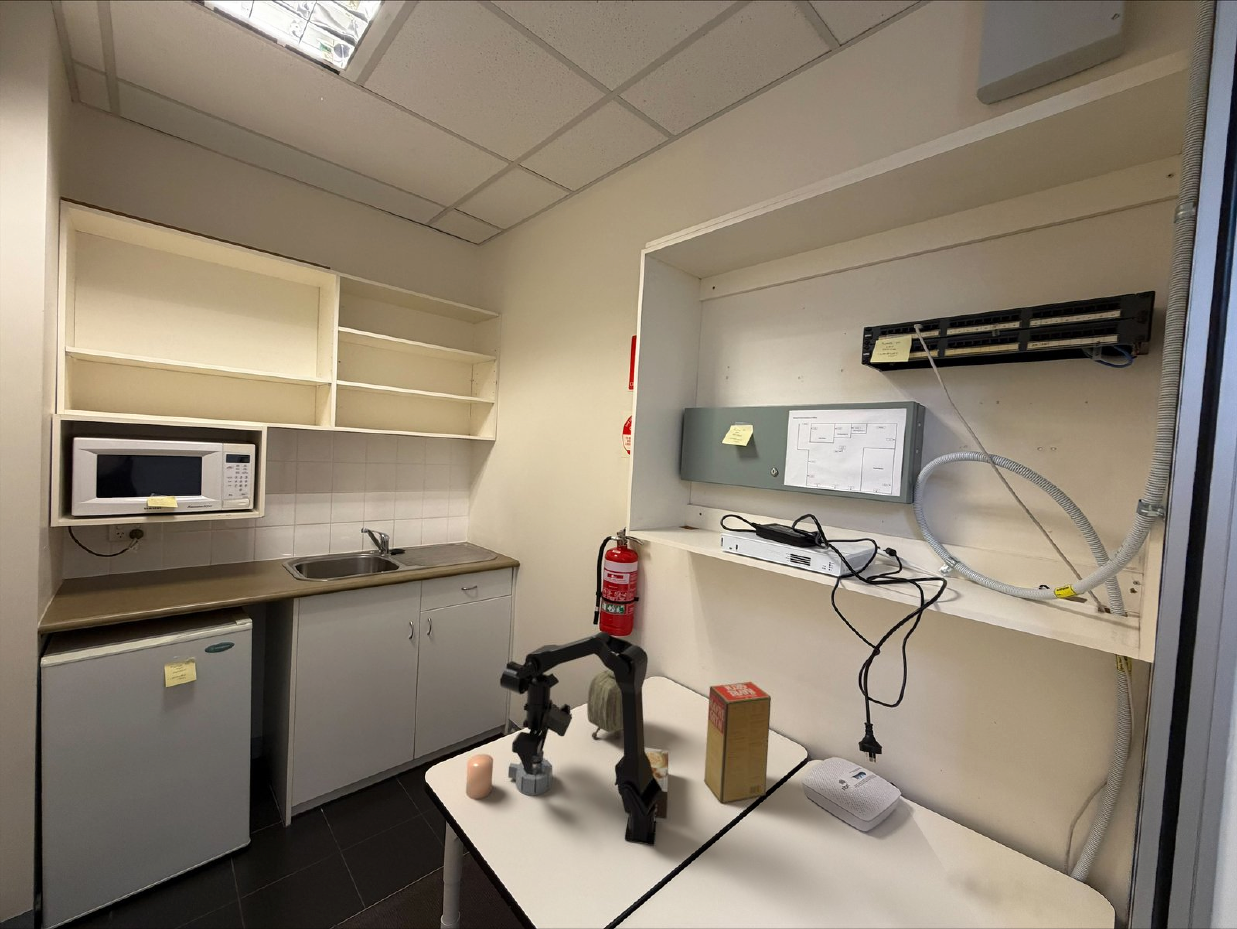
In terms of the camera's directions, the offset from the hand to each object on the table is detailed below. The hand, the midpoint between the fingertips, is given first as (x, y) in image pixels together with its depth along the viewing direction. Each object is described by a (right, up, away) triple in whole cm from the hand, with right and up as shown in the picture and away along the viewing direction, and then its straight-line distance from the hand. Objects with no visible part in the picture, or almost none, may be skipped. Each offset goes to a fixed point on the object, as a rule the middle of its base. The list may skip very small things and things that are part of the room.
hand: (534, 760), depth 120 cm
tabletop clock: (+19, -7, +23) cm, 31 cm away
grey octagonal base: (-1, -6, 0) cm, 6 cm away
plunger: (0, -5, 0) cm, 5 cm away
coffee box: (+30, -4, +7) cm, 31 cm away
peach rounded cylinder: (-13, -5, -4) cm, 14 cm away
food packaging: (+51, -9, +3) cm, 52 cm away
